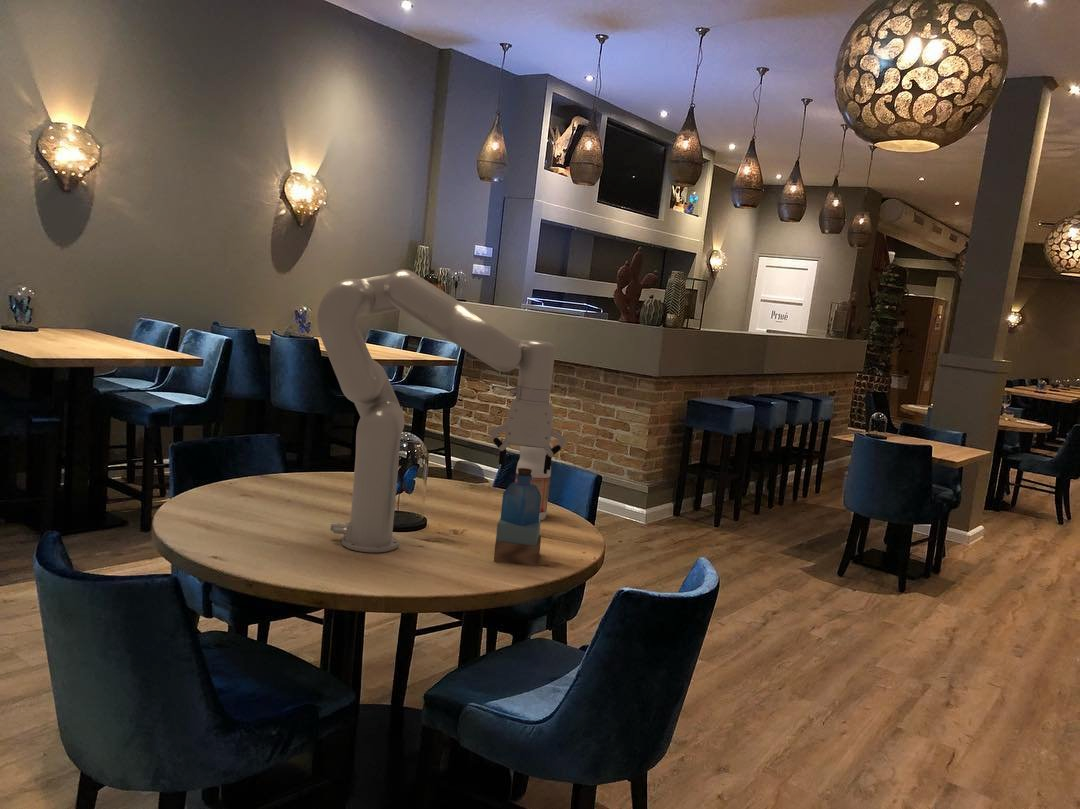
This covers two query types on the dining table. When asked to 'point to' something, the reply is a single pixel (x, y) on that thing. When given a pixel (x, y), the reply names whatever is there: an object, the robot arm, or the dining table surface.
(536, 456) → the fruit juice
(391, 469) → the robot arm
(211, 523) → the dining table surface
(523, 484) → the perfume bottle
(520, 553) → the tower base
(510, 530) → the tower top
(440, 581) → the dining table surface
